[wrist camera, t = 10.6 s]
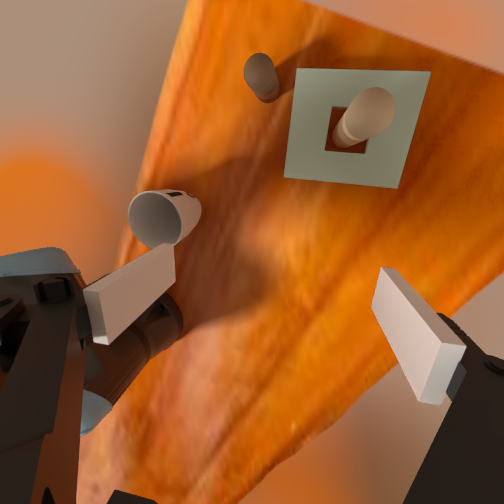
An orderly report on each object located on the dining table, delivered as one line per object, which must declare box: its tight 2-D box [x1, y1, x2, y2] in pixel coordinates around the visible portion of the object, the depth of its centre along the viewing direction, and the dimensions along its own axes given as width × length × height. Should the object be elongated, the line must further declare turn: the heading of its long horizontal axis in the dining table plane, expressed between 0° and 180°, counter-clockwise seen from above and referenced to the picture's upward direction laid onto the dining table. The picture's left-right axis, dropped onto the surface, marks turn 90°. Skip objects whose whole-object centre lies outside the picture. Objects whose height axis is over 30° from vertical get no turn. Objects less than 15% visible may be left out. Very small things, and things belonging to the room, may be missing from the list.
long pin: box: [332, 87, 396, 148], centre depth 26 cm, size 3×3×16 cm
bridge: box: [284, 68, 431, 189], centre depth 31 cm, size 14×12×5 cm
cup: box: [128, 189, 202, 249], centre depth 38 cm, size 8×8×10 cm
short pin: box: [244, 53, 280, 103], centre depth 30 cm, size 3×3×7 cm
